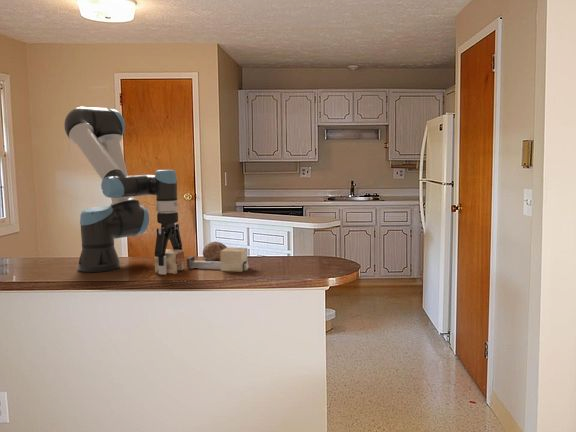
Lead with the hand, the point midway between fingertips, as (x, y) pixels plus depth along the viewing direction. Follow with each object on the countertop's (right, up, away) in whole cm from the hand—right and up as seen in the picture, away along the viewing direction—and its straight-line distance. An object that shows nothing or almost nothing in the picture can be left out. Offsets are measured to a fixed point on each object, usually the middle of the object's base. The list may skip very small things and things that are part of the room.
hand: (169, 270), depth 193 cm
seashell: (+15, +2, +20) cm, 25 cm away
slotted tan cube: (0, 0, 0) cm, 0 cm away
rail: (+18, 0, +3) cm, 18 cm away
